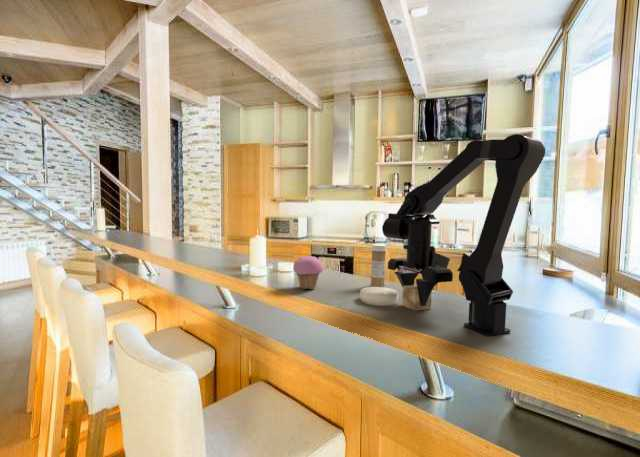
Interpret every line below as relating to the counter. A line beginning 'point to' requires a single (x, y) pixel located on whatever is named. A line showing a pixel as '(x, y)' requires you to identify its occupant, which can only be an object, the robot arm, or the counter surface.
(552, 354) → the counter surface
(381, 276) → the sprinkles bottle
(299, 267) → the cupcake
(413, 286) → the beech cube
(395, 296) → the ceramic stand
